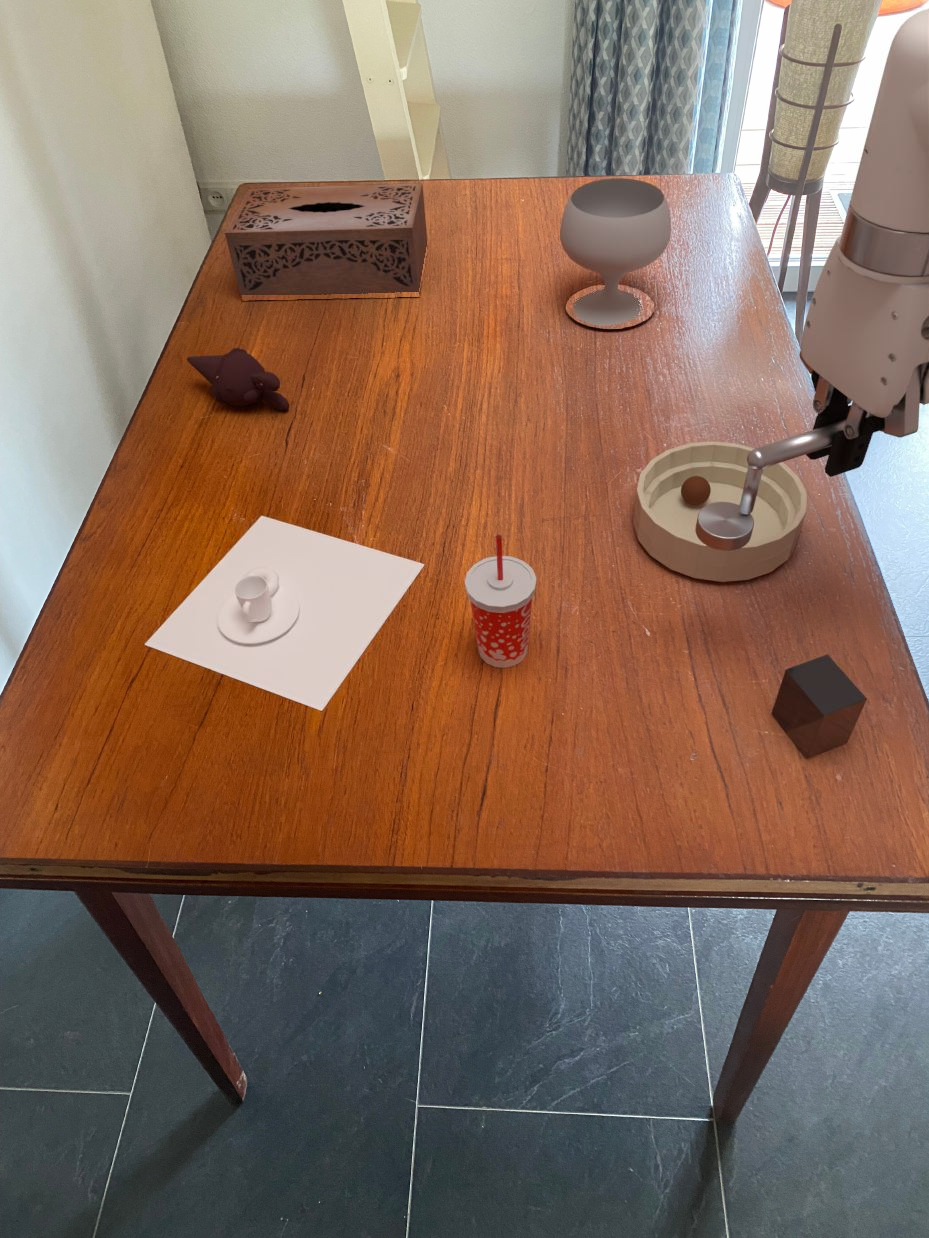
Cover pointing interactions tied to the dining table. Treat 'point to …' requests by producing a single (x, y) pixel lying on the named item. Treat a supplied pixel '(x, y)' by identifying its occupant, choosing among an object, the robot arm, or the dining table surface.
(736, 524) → the bent silver rod
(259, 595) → the teacup and saucer
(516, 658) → the beverage cup
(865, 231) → the robot arm
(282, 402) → the dark brown figurine
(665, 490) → the bowl
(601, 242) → the chalice
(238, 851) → the dining table surface
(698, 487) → the meatball
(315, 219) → the tissue box cover
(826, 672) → the dark brown cube
